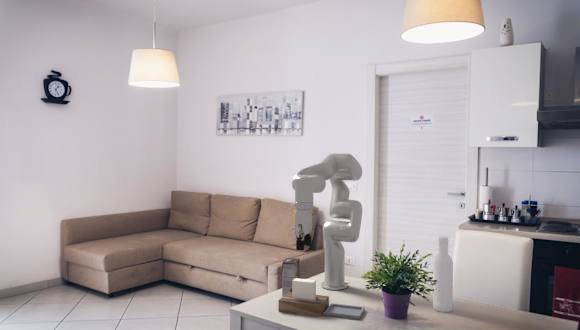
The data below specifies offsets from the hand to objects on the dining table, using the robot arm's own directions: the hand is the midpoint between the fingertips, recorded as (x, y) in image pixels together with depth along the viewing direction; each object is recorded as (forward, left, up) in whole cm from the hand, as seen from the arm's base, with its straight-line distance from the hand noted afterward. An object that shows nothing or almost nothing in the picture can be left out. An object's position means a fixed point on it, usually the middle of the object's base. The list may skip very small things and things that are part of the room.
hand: (303, 247), depth 197 cm
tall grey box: (-15, -11, -26) cm, 32 cm away
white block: (0, 0, -26) cm, 26 cm away
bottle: (-19, +54, -26) cm, 63 cm away
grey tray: (-1, +17, -26) cm, 31 cm away
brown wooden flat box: (0, 0, -26) cm, 26 cm away
